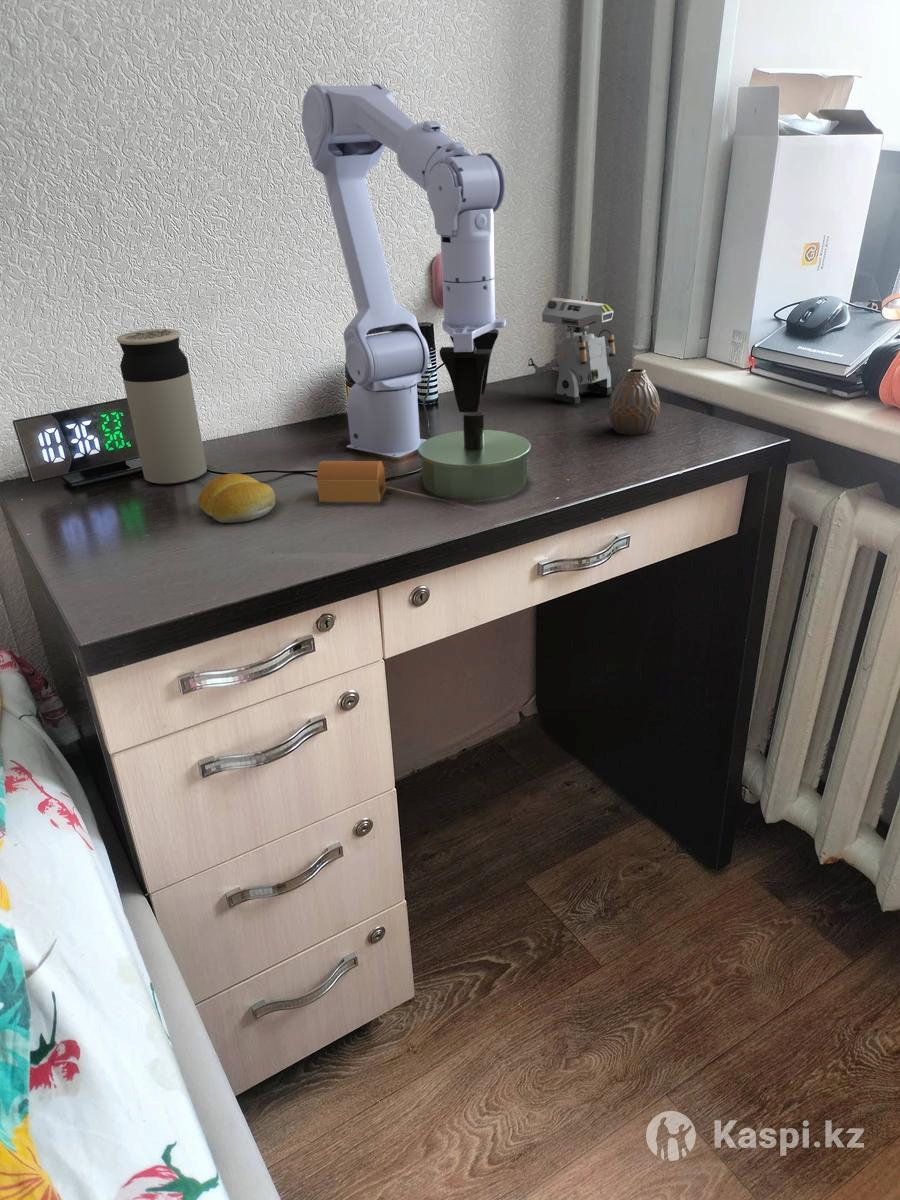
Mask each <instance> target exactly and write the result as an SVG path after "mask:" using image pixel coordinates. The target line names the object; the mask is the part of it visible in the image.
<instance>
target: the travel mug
mask: <svg viewBox="0 0 900 1200" xmlns="http://www.w3.org/2000/svg"><path fill="white" fill-rule="evenodd" d="M181 335H182V333H181V332H180V331H179V330H177V329H171V328H151V329H142V330H135V331H130V332H129V331H128V332H126V333H123V334H120V335H118V336H117V337H116V342H117V343H118V344H119V345H120V348H121V351H122V353H123V354H122V358H121V361H120V364H119V367H120V372H121V376H122V381H123V386H124V390H125V395H126V401H127V405H128V409H129V414H130V418H131V423H132V427H133V433H134V436H135V441H136V446H137V450H138V455H139V460H140V463H141V469H142V473H143V479H144V480H146V481H147V482H150V483H153V484H158V485H177V484H178V485H179V484H183V483H184V484H185V483H188V482H191V481H194V480H196V479H199V478H200V477H201V476H202V475H204V474H205V473H206V472H207V470H208V467H207V462H206V456H205V451H204V444H203V438H202V433H201V428H200V423H199V418H198V412H197V407H196V406H197V405H196V401H195V395H194V389H193V383H192V379H191V372H190V367H189V361H188V358H187V356H186V355H185V354H184V352H183V350H182V349H181V348H180V337H181Z"/></svg>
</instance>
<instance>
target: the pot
mask: <svg viewBox="0 0 900 1200" xmlns="http://www.w3.org/2000/svg"><path fill="white" fill-rule="evenodd" d="M421 471H422V484H423V486H424V489H425V490H426V491H428V492H429V493H431V494H433V495H434V496H437V497H442V498H447V499H451V500H466V501H470V500H471V501H477V500H486V499H488V500H489V499H496V498H500V497H503V496H507V495H511V494H513V493H515V492H518V491H519V490H520V489H522V488H524V486H525V485H526V483H527V481H528V455H527V456H526V457H524V458H523V459H521V460H519V461H516V462H513V463H510V464H507V465H502V466H497V467H491V468H480V469H457V468H447V467H441V466H437V465H433V464H430V463H428V462H426V461H424V460H423V459H421Z"/></svg>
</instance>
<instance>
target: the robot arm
mask: <svg viewBox="0 0 900 1200" xmlns="http://www.w3.org/2000/svg"><path fill="white" fill-rule="evenodd" d="M302 101H303V102H302V112H301V124H302V129H303V133H304V138H305V141H306V146H307V149H308V153H309V156H310V159H311V162H312V166H313V169H314V170H316V171H318V172H319V173H320V174H322V177H323V182H324V185H325V190H326V193H327V197H328V201H329V205H330V209H331V213H332V217H333V220H334V225H335V228H336V229H335V230H336V232H337V237H338V240H339V244H340V247H341V252H342V255H343V260H344V264H345V267H346V272H347V275H348V280H349V283H350V287H351V290H352V295H353V299H354V303H355V306H356V311H357V313H356V314H355V316H353V318H352V319H351V320H350V322H349V323H348V324H347V326H346V327H345V330H344V331H343V333H342V334H343V341H344V345H345V346H344V347H345V364H346V368H347V371H348V374H349V376H350V378H351V379H352V380H353V382H355V383H354V384H353V385H352V386H351V387H350V388H349V391H348V394H347V398H346V412H347V421H348V422H347V423H348V432H349V442H350V444H348V445H346V448H349V449H354V450H359V451H363V452H368V453H372V454H378V455H383V456H387V457H392V458H401V457H403V456H405V455H407V454H410V453H412V452H414V451H416V450H417V451H418V448H419V446H420V444H422V443H423V442H424V441H426V440H427V439H424V438H421V435H420V434H421V433H420V418H419V417H420V415H419V403H418V402H419V401H418V385H417V384H418V383H421V382H422V375H424V374H425V372H426V371H427V369H428V365H429V362H430V350H429V345H428V342H427V339H426V338H425V336H424V335H423V333H422V332H421V328H420V327H419V324H418V320H417V316H416V315H415V314H413V313H412V312H410V311H408V310H407V309H406V308H404V307H402V306H401V305H400V304H399V303H397V301H396V297H395V293H394V288H393V285H392V281H391V277H390V272H389V268H388V264H387V260H386V257H385V256H386V255H385V252H384V249H383V244H382V241H381V237H380V233H379V227H378V224H377V220H376V216H375V211H374V207H373V204H372V199H371V196H370V192H369V188H368V184H367V179H366V178H367V174H368V172H369V171H370V170H372V169H373V168H375V167H376V166H377V165H378V164H379V161H380V159H381V158H382V155H383V153H384V150H385V148H387V149H389V150H390V151H391V152H394V153H395V154H396V156H397V157H396V158H397V159H396V160H397V164H398V167H399V168H400V170H401V171H402V172H403V174H404V175H406V177H408V178H409V179H411V180H412V181H413V183H415V184H416V185H418V187H420V188H421V189H422V190H424V192H426V197H427V201H428V204H429V207H430V209H431V211H432V215H433V219H434V229H435V230H436V234H437V235H438V236H439V237H440V254H441V256H440V257H441V259H440V260H441V279H442V301H443V303H442V304H443V321H442V330H443V331H444V332H445V333H447V334H448V335H449V338H450V340H451V342H452V344H453V346H443V347H442V346H441V347H440V350H439V357H440V360H441V361H442V363H443V365H444V367H445V369H446V370H447V373H448V375H449V379H450V381H451V385H452V389H453V394H454V397H455V401H456V405H457V409H458V411H459V413H464V412H478V411H479V408H480V404H481V400H482V399H481V398H482V395H485V391H486V387H487V383H488V375H489V368H490V367H489V366H490V361H491V357H492V353H493V349H494V346H495V343H496V341H497V340H498V337H499V334H500V331H499V329H502V328H503V329H504V328H506V326H507V319H506V318H503V317H502V318H500V317H499V318H497V317H496V287H495V286H496V280H495V279H496V278H495V224H494V223H495V222H494V221H495V219H494V218H495V217H494V213H496V212H498V210H499V209H500V207H501V205H502V203H503V201H504V197H505V189H506V179H505V175H504V171H503V169H502V166H501V164H500V162H499V161H498V160H497V159H496V158H495V156H494V155H493V153H491V152H480V153H478V154H477V155H476V154H472V153H471V152H469V151H468V150H467V149H466V146H465V144H463V143H462V142H461V141H455V140H454V139H452V138H451V137H449V135H447V134H446V133H444V132H443V131H442V125H441V124H440V123H439V122H437V121H436V120H426V121H423V122H422V121H421V122H419V123H416V124H415V122H414V121H412V119H411V118H410V117H409V116H407V115H406V114H405V112H403V110H401V108H399V107H398V106H397V105H396V104H395V99H394V95H393V92H392V91H391V90H390V89H387V88H386V87H385V86H384V85H382V84H380V83H373V84H371V85H321V84H315V83H314V84H311V85H310V86H309V87H308V88H307V90H306V92H305V95H304V98H303V100H302ZM498 328H499V329H498Z"/></svg>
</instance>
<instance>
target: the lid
mask: <svg viewBox="0 0 900 1200" xmlns="http://www.w3.org/2000/svg"><path fill="white" fill-rule="evenodd" d="M484 416H485V415H484V412H483V411H481V410H478V412H462V424H463V430H458V431H451V432H447V433H441V434H438V435H436V436H432V437H430V438H428V439H425V440H426V441H424V442H423V443H422V444H420V446H419V448H418V449H417V452H418V453H417V455H418V456H419V458H420V459H421V460H422V459H423V460H424V461H426V462H428V463H430V464H433V465H437V466H441V467H447V468H457V469H480V468H491V467H497V466H502V465H507V464H510V463H513V462H516V461H519V460H521V459H523V458H524V457H526V456H527V457H528V455H529V454H530V452H531V443H530V440H528V439H527V438H526V437H523V436H522V435H519V434H517V433H512V432H510V431H509V432H507V431H502V430H496V429H495V430H493V429H485V422H484V421H485V420H484Z"/></svg>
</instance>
